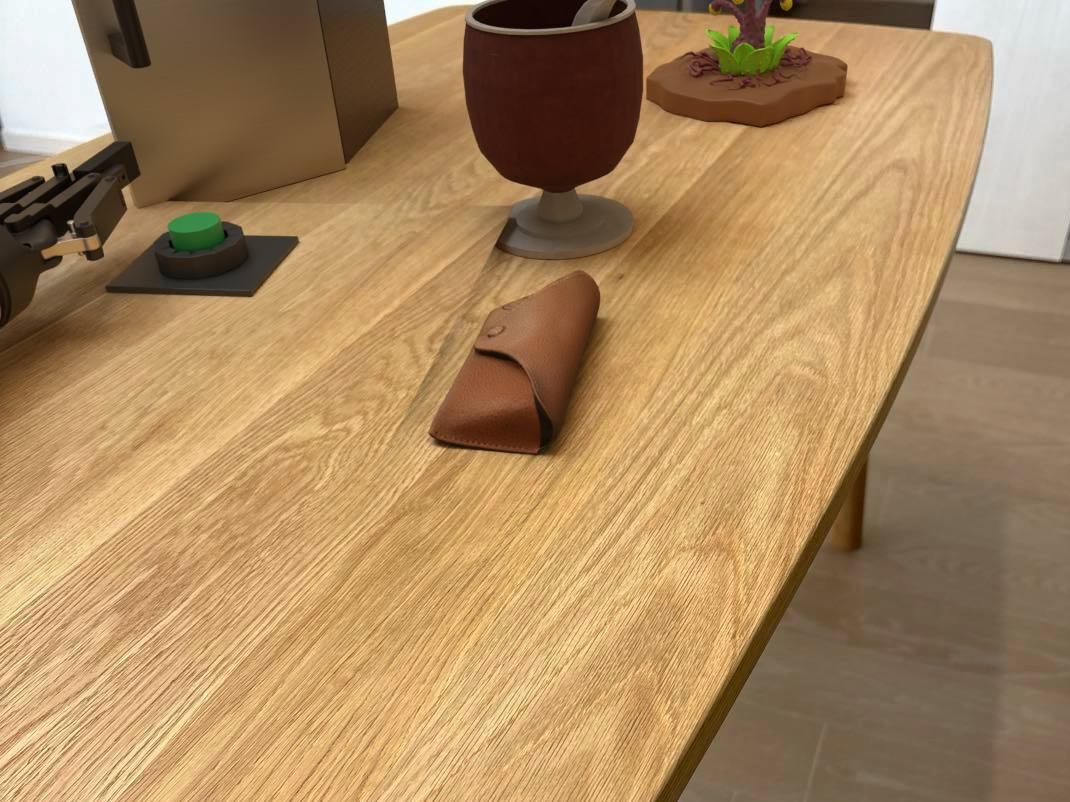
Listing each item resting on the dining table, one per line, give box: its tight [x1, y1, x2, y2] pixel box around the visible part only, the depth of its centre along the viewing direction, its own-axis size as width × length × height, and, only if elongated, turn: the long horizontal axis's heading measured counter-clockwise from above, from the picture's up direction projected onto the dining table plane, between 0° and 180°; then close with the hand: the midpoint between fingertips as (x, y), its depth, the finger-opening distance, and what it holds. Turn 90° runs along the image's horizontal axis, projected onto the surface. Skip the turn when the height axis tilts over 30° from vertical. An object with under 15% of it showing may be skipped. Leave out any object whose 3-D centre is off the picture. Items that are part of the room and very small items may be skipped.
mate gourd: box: [462, 0, 644, 260], centre depth 84 cm, size 16×14×20 cm
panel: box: [105, 220, 300, 298], centre depth 85 cm, size 12×10×4 cm
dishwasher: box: [316, 0, 400, 166], centre depth 107 cm, size 18×20×24 cm
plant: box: [645, 0, 849, 128], centre depth 112 cm, size 20×20×11 cm
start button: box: [167, 211, 225, 251], centre depth 83 cm, size 4×4×2 cm
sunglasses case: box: [427, 269, 601, 455], centre depth 70 cm, size 18×7×7 cm, turn 169°
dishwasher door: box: [70, 0, 347, 210], centre depth 91 cm, size 7×20×24 cm, turn 124°
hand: (127, 158), depth 87 cm, fingers closed
